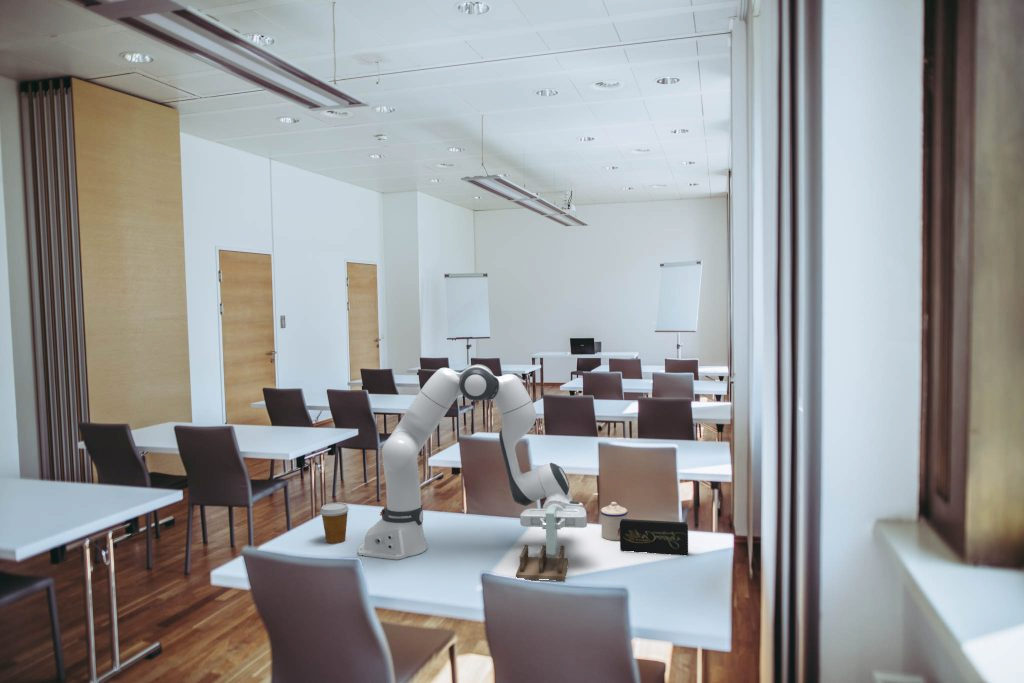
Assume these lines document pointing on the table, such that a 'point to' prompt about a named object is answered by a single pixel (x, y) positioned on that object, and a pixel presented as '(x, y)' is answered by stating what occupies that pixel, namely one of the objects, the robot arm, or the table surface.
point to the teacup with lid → (612, 520)
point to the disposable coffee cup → (335, 521)
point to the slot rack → (542, 566)
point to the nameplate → (654, 536)
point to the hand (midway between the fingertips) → (551, 526)
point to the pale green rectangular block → (551, 530)
